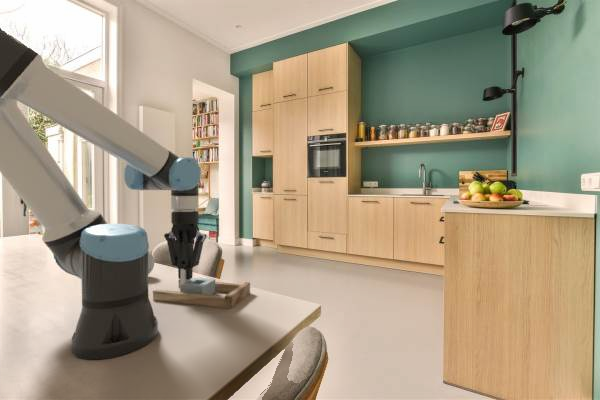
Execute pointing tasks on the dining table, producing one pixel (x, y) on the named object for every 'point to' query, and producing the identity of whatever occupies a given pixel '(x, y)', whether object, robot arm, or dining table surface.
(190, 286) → the block
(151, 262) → the donut
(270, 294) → the dining table surface
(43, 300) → the dining table surface
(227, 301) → the track
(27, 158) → the robot arm
